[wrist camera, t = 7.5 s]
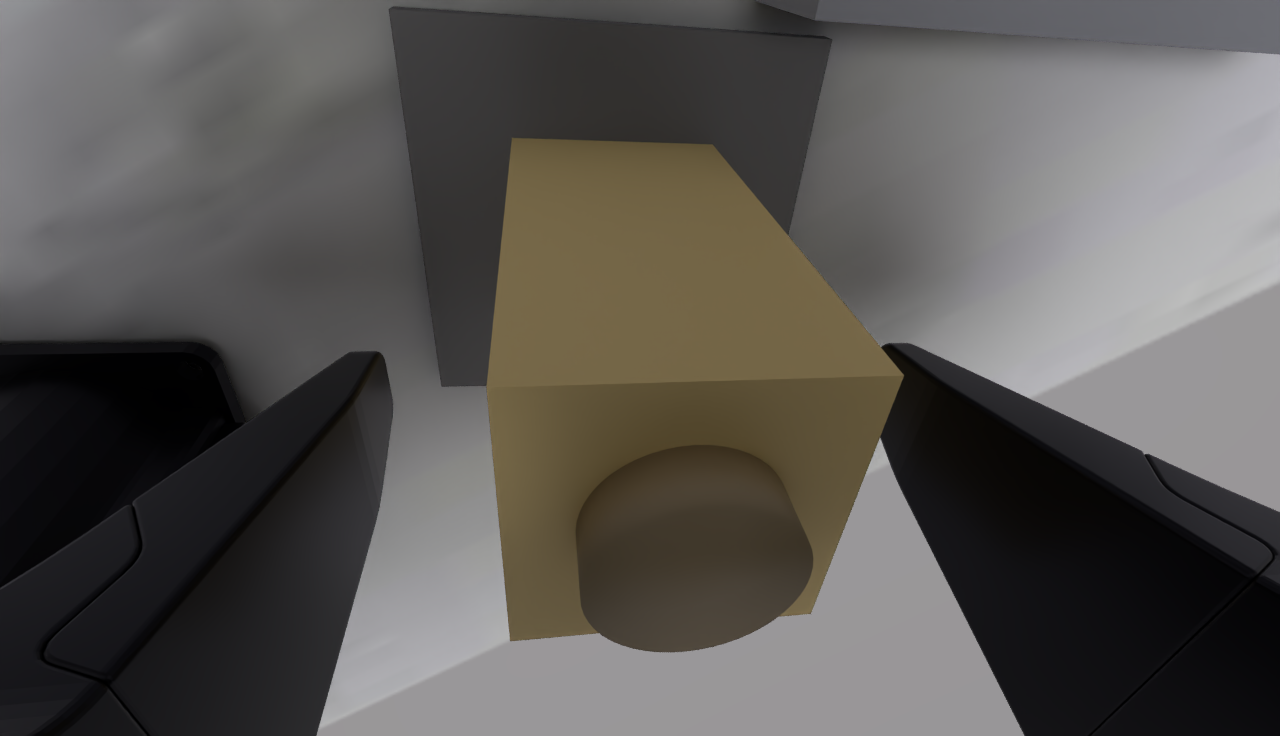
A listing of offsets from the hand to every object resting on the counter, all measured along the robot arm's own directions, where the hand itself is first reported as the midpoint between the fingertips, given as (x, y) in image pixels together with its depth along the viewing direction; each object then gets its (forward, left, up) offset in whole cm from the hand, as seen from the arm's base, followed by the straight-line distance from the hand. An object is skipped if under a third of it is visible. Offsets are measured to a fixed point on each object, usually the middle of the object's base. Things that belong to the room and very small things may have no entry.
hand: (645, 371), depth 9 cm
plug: (0, 0, -5) cm, 5 cm away
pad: (0, 0, -6) cm, 6 cm away
